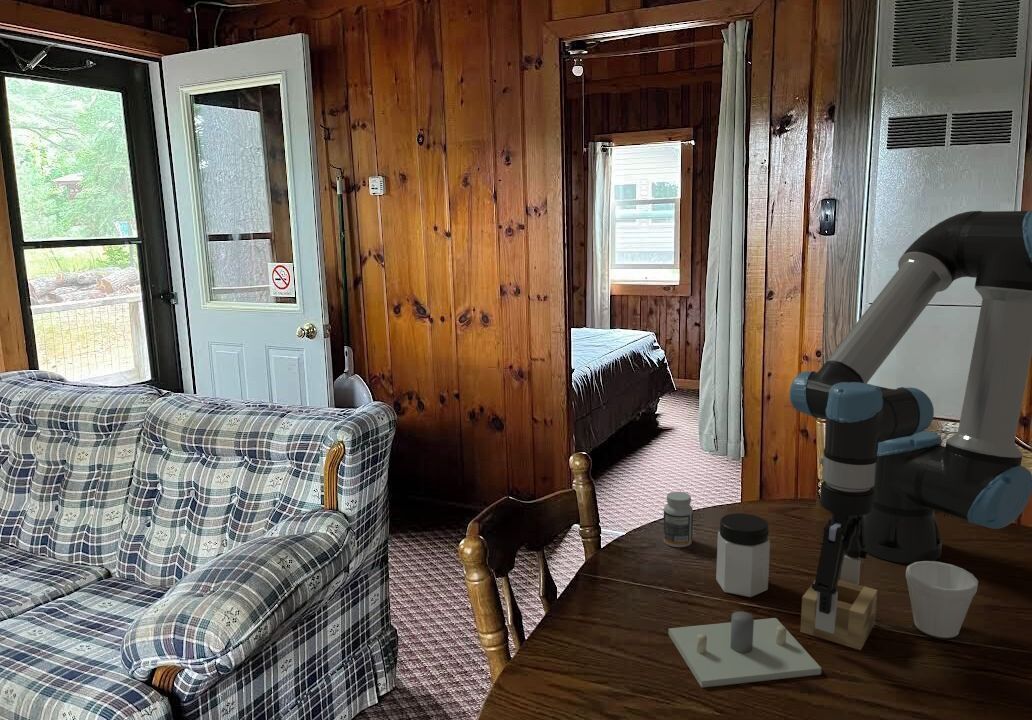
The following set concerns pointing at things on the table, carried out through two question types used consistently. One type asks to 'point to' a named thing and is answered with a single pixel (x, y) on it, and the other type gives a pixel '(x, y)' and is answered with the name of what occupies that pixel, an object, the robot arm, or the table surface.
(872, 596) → the open wooden square frame
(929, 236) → the robot arm
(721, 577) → the jar
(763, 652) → the post fixture
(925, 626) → the cup
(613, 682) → the table surface
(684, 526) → the pill bottle
